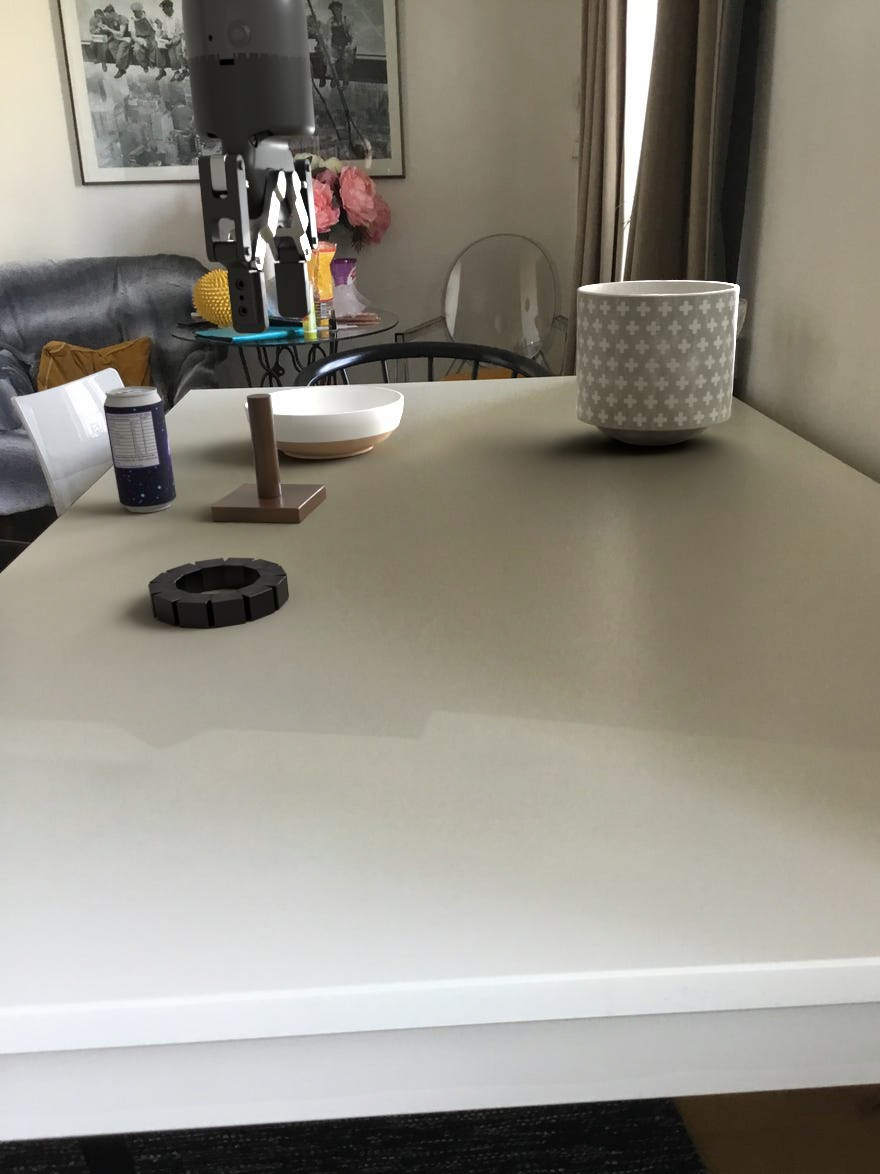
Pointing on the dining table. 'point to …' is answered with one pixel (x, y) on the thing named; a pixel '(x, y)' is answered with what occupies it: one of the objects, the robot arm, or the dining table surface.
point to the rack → (267, 479)
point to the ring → (188, 607)
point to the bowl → (333, 420)
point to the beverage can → (140, 448)
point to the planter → (655, 358)
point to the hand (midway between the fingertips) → (274, 324)
